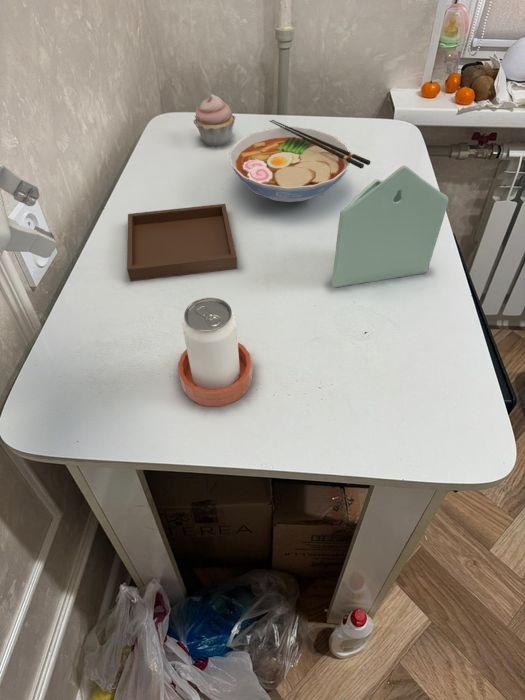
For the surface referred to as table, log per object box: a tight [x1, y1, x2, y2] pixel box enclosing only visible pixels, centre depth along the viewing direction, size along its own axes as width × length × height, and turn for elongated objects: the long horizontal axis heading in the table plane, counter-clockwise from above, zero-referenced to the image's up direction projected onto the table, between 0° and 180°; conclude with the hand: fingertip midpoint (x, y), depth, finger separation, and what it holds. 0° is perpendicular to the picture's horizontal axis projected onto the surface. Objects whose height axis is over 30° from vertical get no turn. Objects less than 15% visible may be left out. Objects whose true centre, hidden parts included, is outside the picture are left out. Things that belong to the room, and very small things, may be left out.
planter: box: [331, 164, 449, 289], centre depth 76 cm, size 16×8×20 cm, turn 102°
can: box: [182, 296, 240, 390], centre depth 64 cm, size 6×6×12 cm
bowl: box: [177, 342, 253, 408], centre depth 67 cm, size 10×10×3 cm
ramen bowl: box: [228, 119, 371, 203], centre depth 96 cm, size 25×23×8 cm
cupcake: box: [192, 93, 236, 147], centre depth 109 cm, size 9×9×10 cm
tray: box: [126, 203, 238, 282], centre depth 86 cm, size 18×16×2 cm
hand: (43, 220), depth 46 cm, fingers open, 8 cm apart
